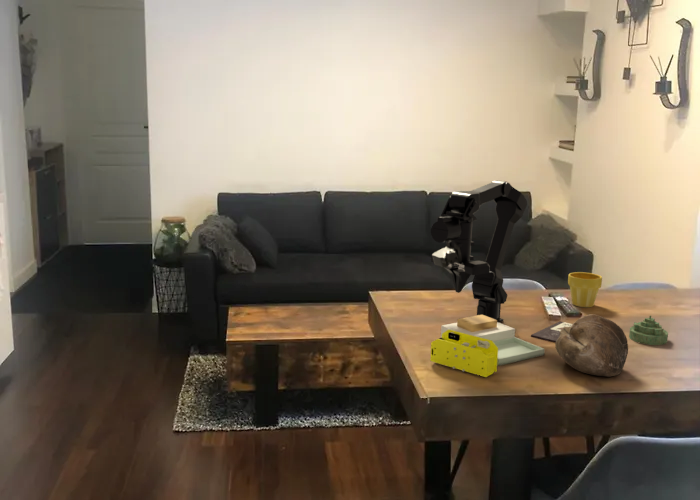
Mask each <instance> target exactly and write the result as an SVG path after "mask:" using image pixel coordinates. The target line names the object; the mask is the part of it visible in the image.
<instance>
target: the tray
mask: <svg viewBox="0 0 700 500" xmlns="http://www.w3.org/2000/svg"><path fill="white" fill-rule="evenodd" d="M493 343H494V344H495V345H496V346H497V347H498V358H497V366H504V365H508V364H511V363H512V364H513V363H516V362H520V361H524V360H529V359H533V358H537V357H541V356H545V348H544V347H541V346H539V345H536V344H533V343H532V342H530V341H527V340H526V341H525V340H523V339H522V338H518V337H516V336H515V337H512V338H507V339H502V340H497V341H493ZM489 347H490V344H489Z"/></svg>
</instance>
